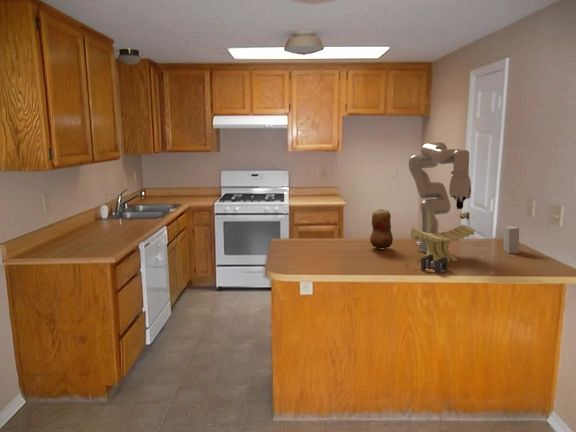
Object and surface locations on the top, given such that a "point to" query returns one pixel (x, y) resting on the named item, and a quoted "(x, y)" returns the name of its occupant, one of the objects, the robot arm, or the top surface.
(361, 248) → the top surface
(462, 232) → the slatted curved stool
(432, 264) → the tube
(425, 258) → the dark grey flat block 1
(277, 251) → the top surface
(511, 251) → the skincare box
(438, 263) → the dark angular blocks
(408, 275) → the top surface
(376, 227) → the butternut squash
